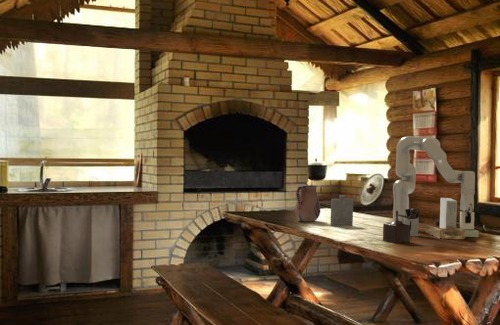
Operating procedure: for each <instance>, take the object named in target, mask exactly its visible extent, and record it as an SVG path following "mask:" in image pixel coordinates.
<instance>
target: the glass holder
mask: <svg viewBox="0 0 500 325" xmlns="http://www.w3.org/2000/svg"><path fill="white" fill-rule="evenodd" d="M411 209H412V208H409V209H405V212H404V213H405V216H410V215H411V212H410V210H411ZM416 210H417V211H418V213H417V214H416V215H415V217H413V218H406V217H405V224H407V225H410V237H419V236H420V234H419V225H420V224H419V222H420V221H419V219H420V218H419V216H420V214H419V209H416ZM404 213H403V214H404ZM403 214H402V215H403ZM402 222H403V217H402ZM403 223H404V222H403Z"/></svg>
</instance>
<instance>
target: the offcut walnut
mask: <svg viewBox="0 0 500 325" xmlns="http://www.w3.org/2000/svg"><path fill="white" fill-rule="evenodd" d="M444 234H448V235H452V231H446V230H444Z"/></svg>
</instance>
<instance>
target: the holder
mask: <svg viewBox="0 0 500 325" xmlns="http://www.w3.org/2000/svg"><path fill="white" fill-rule="evenodd" d="M462 230H465V238H469V237H470V238H479V237H480V230H476V229H462Z"/></svg>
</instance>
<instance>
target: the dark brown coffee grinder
mask: <svg viewBox="0 0 500 325" xmlns="http://www.w3.org/2000/svg"><path fill="white" fill-rule="evenodd" d="M410 209H411V210H410V212H411V215H410V216H404V215H399V214H398V211H396V221H393V220H392V221H393V222H392V221H390V222H391V223H386V222H385V223H386V224H385V223H383V228H382V241H383V242H388V243H392V244H404V243H411V236H410V225H407V224H404V223H403V222H402V221H398V216H401V217H406V218H413V217H415V215H416V214H417V213H418V211H417V210H418V209H416V208H410Z"/></svg>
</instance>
